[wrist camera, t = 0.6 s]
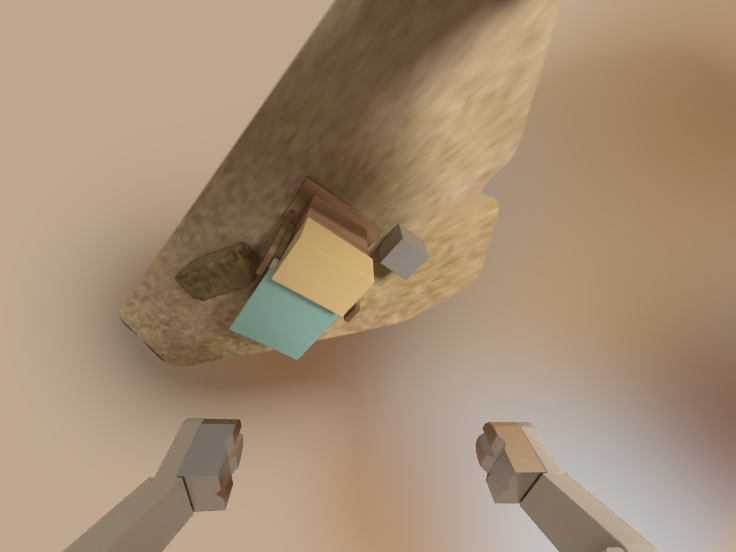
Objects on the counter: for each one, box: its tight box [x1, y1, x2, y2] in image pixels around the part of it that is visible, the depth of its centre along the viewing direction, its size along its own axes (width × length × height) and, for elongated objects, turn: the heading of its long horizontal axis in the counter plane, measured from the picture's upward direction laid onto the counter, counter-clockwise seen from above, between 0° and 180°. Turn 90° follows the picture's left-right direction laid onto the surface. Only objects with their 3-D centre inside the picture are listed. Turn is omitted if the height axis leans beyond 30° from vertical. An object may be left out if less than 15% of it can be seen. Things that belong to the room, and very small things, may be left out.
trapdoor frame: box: [256, 177, 382, 322], centre depth 38 cm, size 8×13×14 cm, turn 53°
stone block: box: [175, 243, 260, 301], centre depth 46 cm, size 6×12×5 cm, turn 112°
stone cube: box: [379, 223, 429, 279], centre depth 44 cm, size 5×5×5 cm
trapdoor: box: [229, 217, 374, 360], centre depth 36 cm, size 18×10×5 cm, turn 143°
